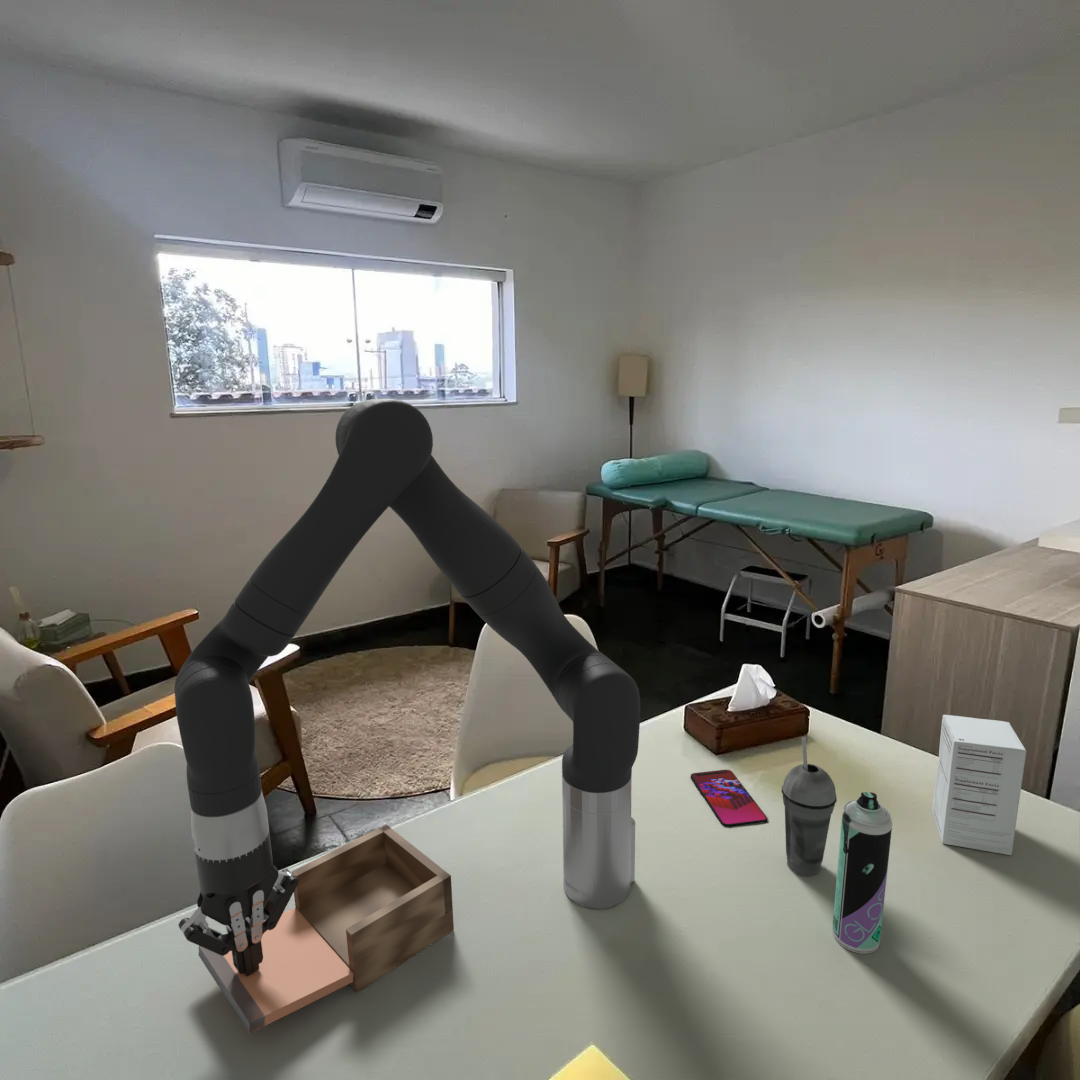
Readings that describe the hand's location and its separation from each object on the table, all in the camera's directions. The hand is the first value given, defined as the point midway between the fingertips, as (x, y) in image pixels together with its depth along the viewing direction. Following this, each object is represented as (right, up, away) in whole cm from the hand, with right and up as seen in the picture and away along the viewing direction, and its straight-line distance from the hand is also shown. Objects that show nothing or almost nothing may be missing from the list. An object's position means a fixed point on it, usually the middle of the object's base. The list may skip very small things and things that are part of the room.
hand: (249, 968), depth 83 cm
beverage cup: (+71, +2, +21) cm, 74 cm away
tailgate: (+7, 0, +6) cm, 9 cm away
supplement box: (+98, +4, +28) cm, 102 cm away
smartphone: (+64, +5, +38) cm, 75 cm away
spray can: (+72, -1, +8) cm, 73 cm away
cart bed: (+12, -1, +11) cm, 16 cm away
